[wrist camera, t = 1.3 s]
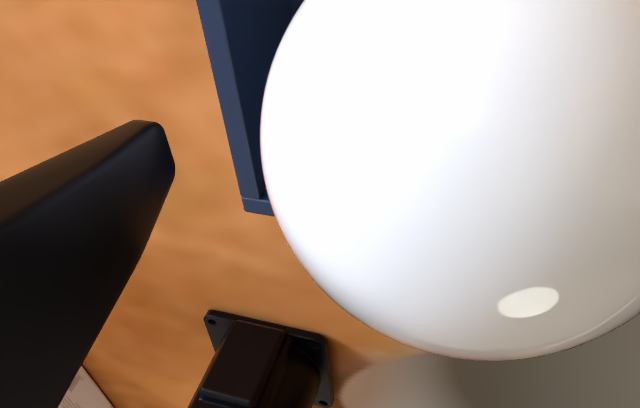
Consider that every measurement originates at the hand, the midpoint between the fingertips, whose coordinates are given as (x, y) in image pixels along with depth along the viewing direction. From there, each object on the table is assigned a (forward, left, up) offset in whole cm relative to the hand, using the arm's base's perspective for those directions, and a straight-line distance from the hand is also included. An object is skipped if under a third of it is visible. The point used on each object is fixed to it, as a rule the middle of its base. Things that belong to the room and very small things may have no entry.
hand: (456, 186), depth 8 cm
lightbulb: (0, 0, -9) cm, 9 cm away
